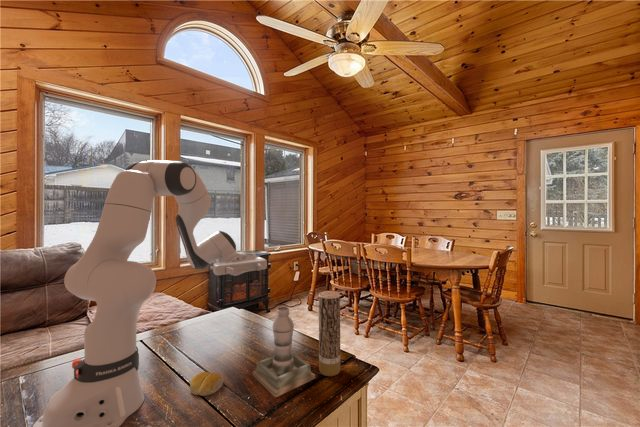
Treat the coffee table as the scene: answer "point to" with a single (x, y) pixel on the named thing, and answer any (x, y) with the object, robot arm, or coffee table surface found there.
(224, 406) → the coffee table surface
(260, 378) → the bottle stand
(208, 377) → the bread roll
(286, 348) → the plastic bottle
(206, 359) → the coffee table surface
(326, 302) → the paper tube
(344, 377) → the coffee table surface
